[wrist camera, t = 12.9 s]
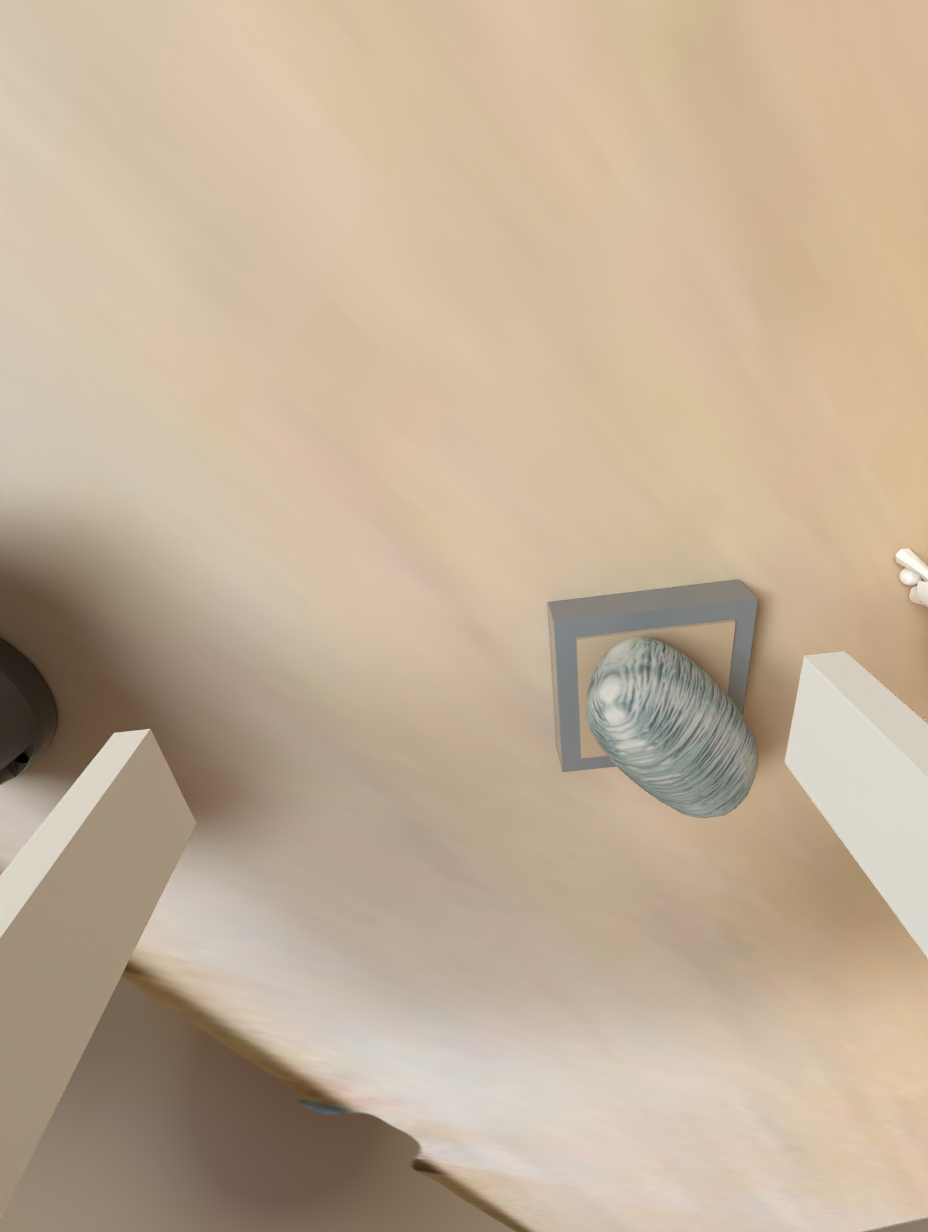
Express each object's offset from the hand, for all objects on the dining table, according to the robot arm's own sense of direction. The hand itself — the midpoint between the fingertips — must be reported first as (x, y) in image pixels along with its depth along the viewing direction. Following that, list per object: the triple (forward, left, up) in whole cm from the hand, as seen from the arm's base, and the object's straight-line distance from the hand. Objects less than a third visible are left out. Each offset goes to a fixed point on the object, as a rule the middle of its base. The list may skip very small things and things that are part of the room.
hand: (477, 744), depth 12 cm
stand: (+12, -19, -29) cm, 36 cm away
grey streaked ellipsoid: (+12, -19, -26) cm, 34 cm away
